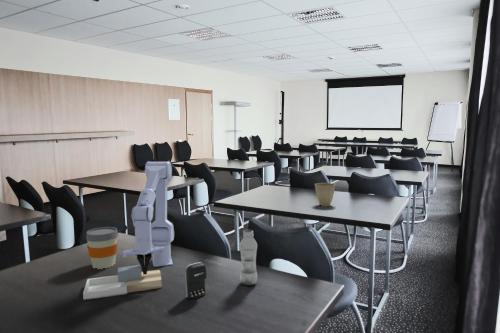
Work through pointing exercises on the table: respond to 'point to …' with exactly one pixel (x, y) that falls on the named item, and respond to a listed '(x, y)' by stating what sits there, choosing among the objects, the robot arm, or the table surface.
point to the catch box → (104, 287)
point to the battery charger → (195, 280)
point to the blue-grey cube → (135, 272)
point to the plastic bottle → (248, 258)
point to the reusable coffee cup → (102, 246)
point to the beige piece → (145, 282)
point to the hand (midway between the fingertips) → (145, 273)
